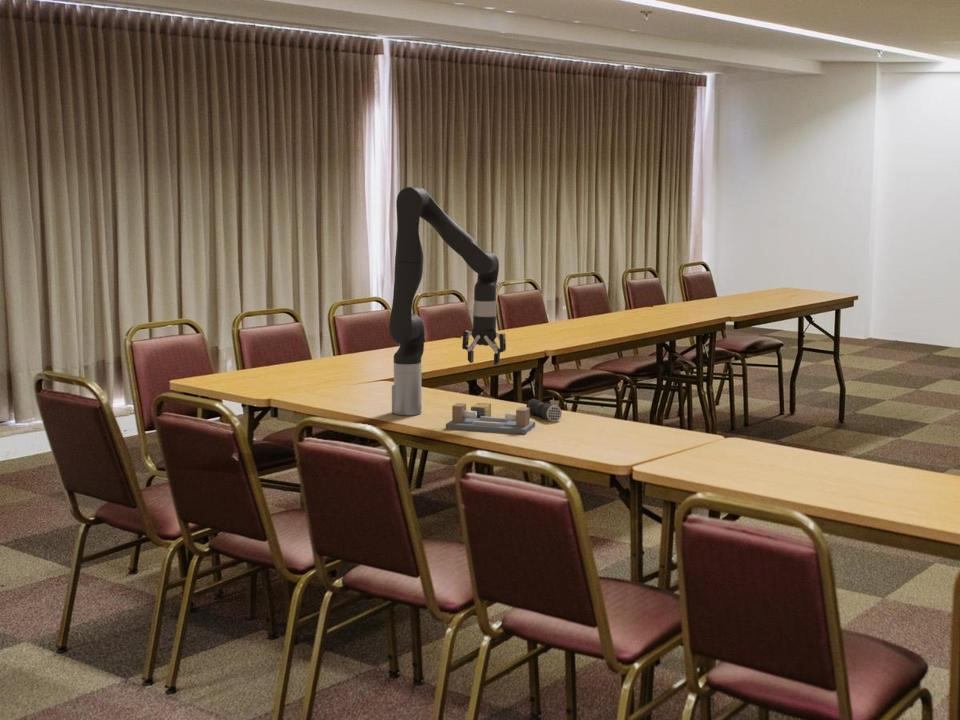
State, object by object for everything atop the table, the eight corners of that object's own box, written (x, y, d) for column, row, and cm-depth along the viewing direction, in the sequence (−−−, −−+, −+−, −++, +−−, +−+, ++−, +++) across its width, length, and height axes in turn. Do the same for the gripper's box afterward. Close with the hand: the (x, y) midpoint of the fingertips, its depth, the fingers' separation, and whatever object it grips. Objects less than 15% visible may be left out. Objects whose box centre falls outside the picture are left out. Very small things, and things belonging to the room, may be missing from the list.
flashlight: (524, 414, 388) (524, 398, 387) (538, 412, 390) (538, 397, 390) (547, 422, 374) (547, 406, 374) (561, 421, 377) (561, 404, 376)
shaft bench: (445, 428, 364) (445, 407, 363) (457, 421, 375) (457, 400, 374) (525, 434, 356) (525, 412, 355) (535, 426, 368) (535, 405, 367)
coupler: (484, 421, 375) (484, 408, 374) (470, 420, 376) (470, 407, 376) (490, 417, 382) (490, 403, 382) (477, 416, 384) (477, 402, 383)
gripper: (459, 314, 373) (459, 363, 375) (501, 316, 368) (500, 367, 371) (468, 311, 380) (467, 360, 382) (509, 314, 375) (508, 363, 378)
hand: (483, 363), depth 377 cm, fingers open, 8 cm apart
